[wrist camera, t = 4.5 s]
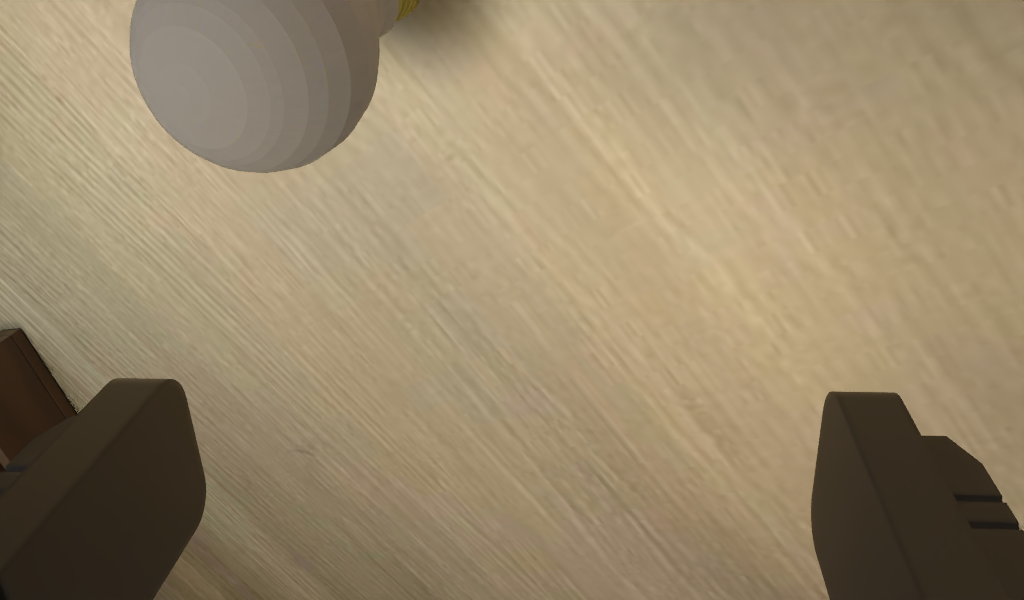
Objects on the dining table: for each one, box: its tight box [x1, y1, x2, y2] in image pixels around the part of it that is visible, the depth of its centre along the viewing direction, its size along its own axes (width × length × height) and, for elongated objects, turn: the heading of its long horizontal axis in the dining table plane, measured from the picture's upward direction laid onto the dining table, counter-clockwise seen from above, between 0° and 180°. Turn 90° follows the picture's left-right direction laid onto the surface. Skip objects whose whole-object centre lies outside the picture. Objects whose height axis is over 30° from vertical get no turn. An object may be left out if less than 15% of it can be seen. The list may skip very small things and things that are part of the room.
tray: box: [0, 329, 77, 472], centre depth 47 cm, size 8×15×4 cm, turn 19°
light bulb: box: [130, 0, 419, 173], centre depth 23 cm, size 6×6×10 cm
